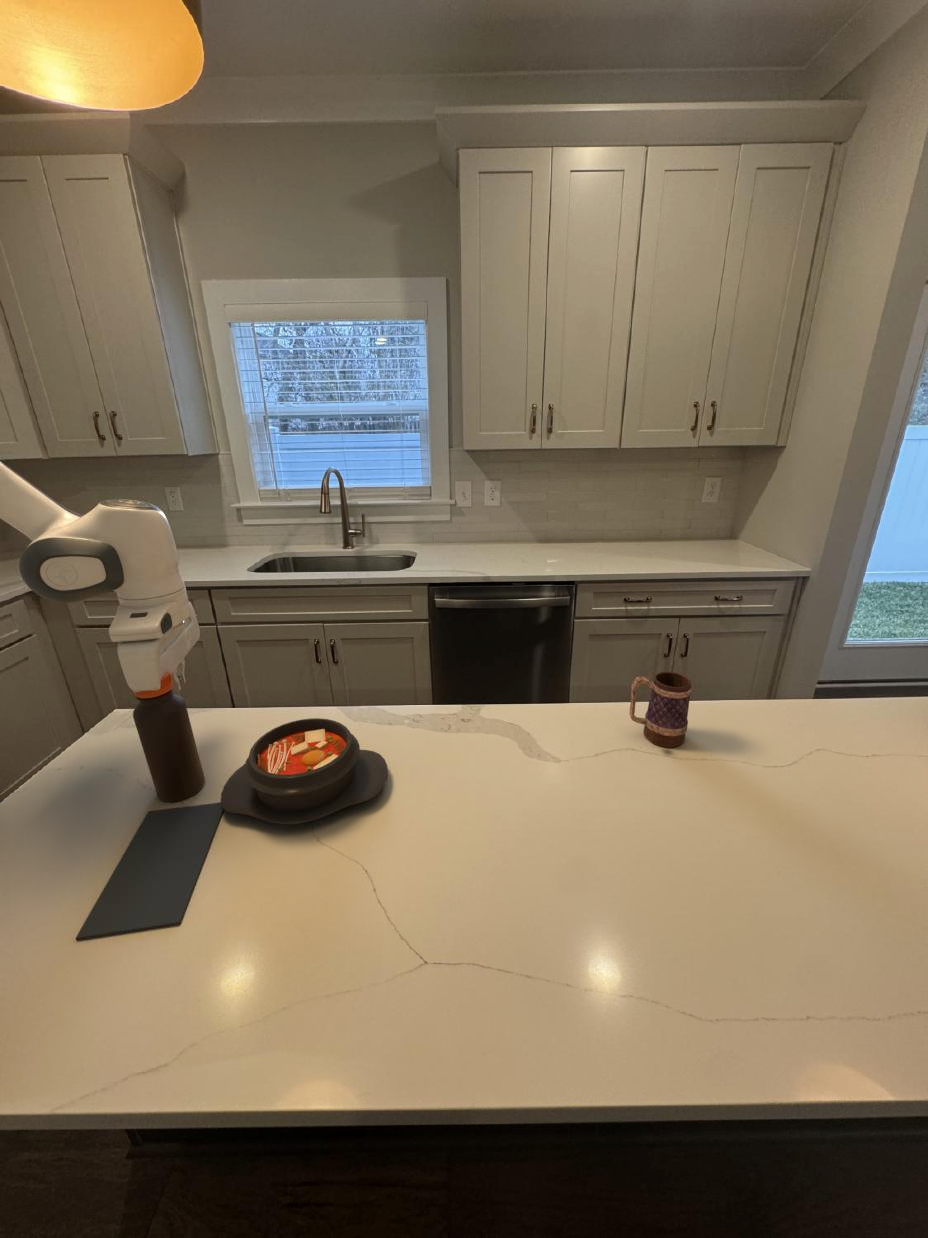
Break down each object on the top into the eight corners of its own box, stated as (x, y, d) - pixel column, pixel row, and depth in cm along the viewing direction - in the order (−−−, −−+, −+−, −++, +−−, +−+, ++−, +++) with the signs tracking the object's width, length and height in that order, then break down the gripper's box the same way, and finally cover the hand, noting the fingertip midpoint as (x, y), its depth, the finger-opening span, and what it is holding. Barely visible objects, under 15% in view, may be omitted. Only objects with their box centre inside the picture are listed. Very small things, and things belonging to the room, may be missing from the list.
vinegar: (161, 780, 82) (128, 670, 75) (207, 770, 84) (180, 662, 77) (153, 808, 76) (117, 692, 69) (203, 796, 78) (173, 683, 71)
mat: (76, 940, 57) (75, 938, 57) (148, 813, 75) (148, 811, 75) (180, 924, 59) (179, 922, 58) (226, 803, 77) (226, 801, 77)
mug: (678, 726, 94) (688, 668, 89) (690, 750, 87) (700, 688, 83) (621, 723, 95) (628, 666, 90) (628, 746, 88) (636, 686, 84)
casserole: (204, 843, 70) (190, 794, 67) (244, 758, 87) (234, 717, 84) (386, 826, 72) (382, 778, 69) (390, 747, 89) (386, 706, 86)
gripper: (160, 588, 86) (179, 661, 91) (101, 636, 67) (128, 725, 72) (200, 585, 87) (216, 658, 92) (152, 632, 68) (176, 720, 73)
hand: (177, 688), depth 82 cm, fingers closed
